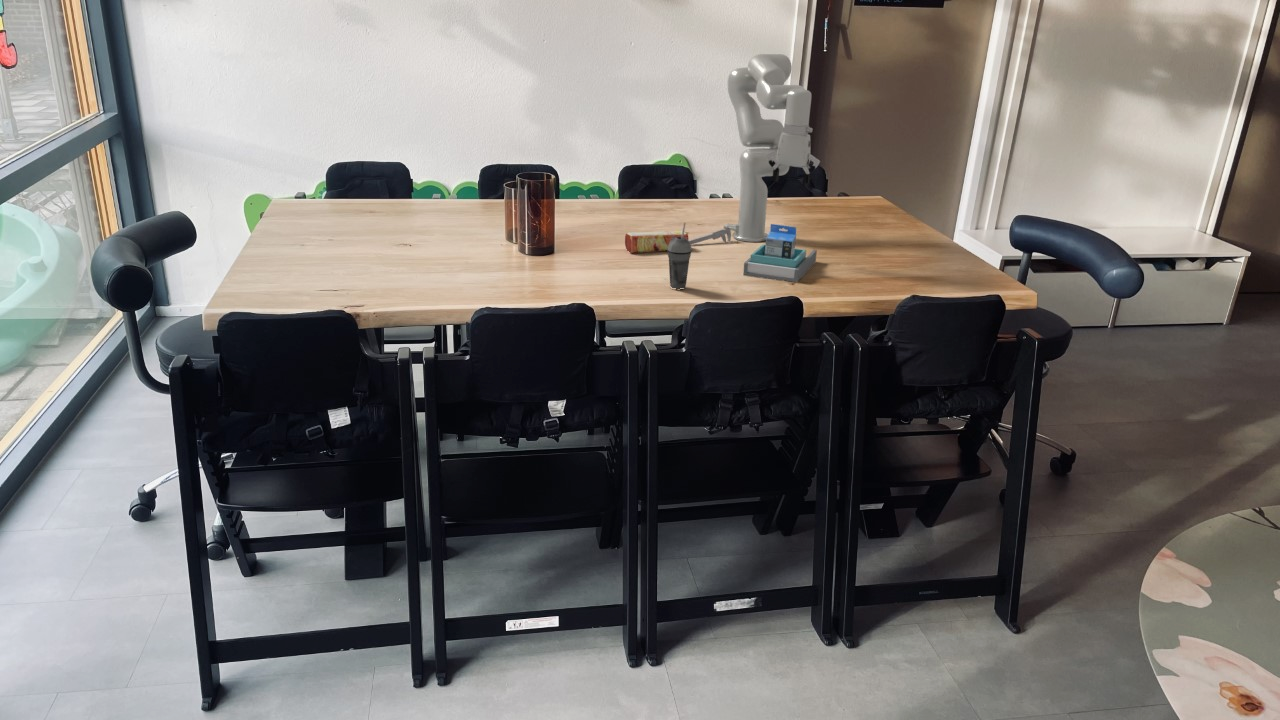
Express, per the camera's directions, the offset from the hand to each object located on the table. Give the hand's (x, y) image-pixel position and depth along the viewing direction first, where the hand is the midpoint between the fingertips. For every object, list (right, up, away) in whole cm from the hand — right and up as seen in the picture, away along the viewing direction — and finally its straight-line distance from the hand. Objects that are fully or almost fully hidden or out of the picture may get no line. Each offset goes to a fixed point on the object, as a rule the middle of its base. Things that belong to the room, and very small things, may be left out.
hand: (790, 183), depth 320 cm
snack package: (-43, -20, +18) cm, 50 cm away
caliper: (-26, -17, +27) cm, 41 cm away
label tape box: (-4, -26, -2) cm, 27 cm away
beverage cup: (-37, -35, -21) cm, 56 cm away
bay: (-3, -27, +1) cm, 27 cm away
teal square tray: (-5, -27, -3) cm, 28 cm away
